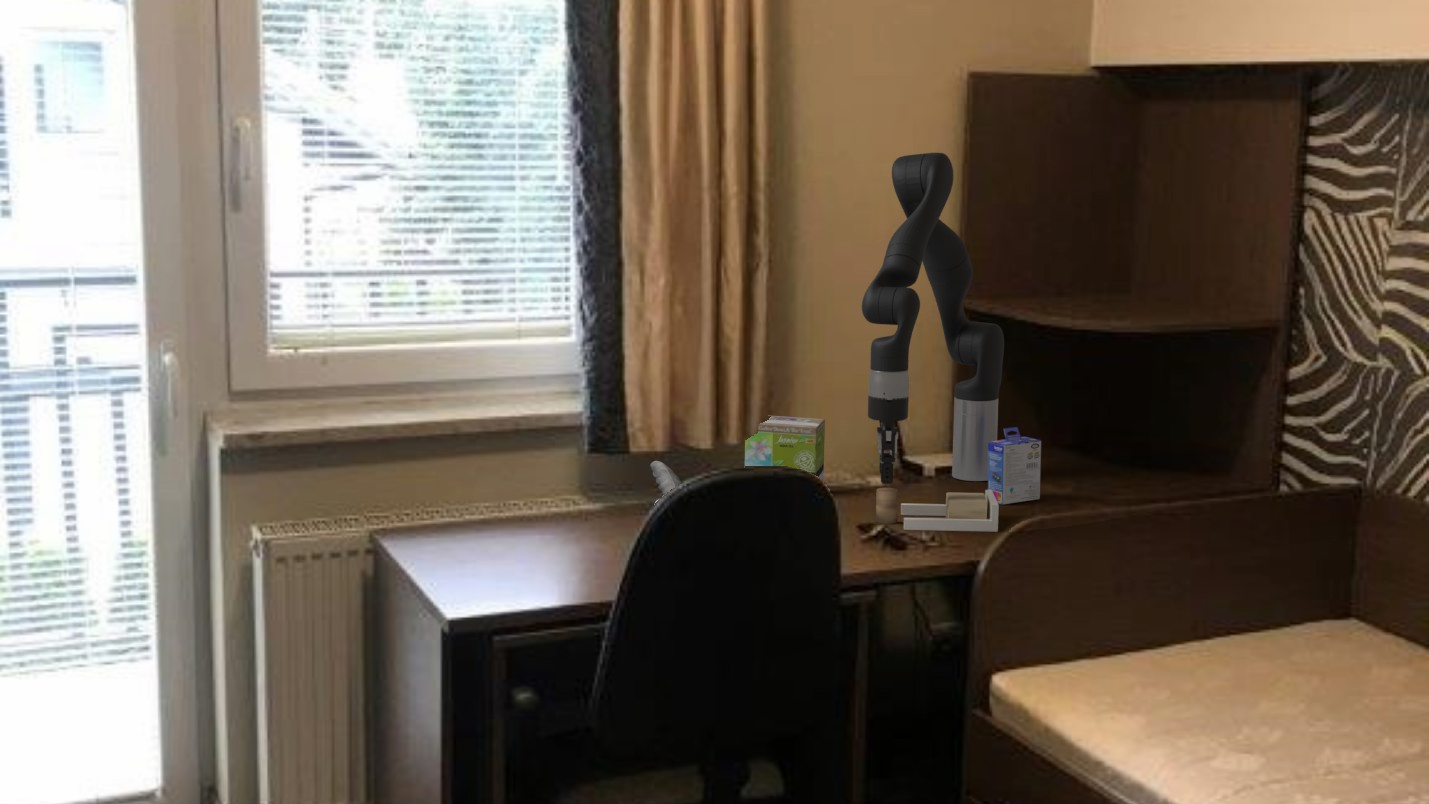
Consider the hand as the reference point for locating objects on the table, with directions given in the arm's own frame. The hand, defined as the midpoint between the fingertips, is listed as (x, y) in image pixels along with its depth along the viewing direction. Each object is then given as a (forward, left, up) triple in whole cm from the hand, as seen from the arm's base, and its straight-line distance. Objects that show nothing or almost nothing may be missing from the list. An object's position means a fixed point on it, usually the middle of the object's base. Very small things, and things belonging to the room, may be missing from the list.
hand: (885, 478), depth 291 cm
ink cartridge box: (-20, +26, -9) cm, 34 cm away
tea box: (-25, -20, -9) cm, 33 cm away
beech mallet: (0, +9, -8) cm, 12 cm away
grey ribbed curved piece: (0, -42, -9) cm, 43 cm away
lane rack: (0, +11, -8) cm, 14 cm away
